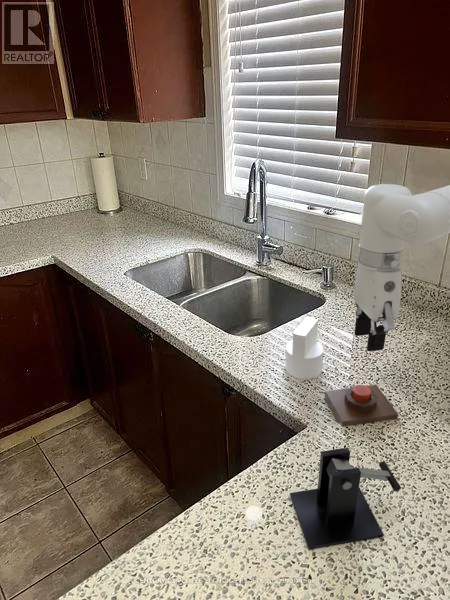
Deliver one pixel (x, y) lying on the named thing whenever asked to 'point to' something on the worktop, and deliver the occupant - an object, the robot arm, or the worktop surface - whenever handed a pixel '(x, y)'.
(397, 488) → the lever
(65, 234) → the worktop surface
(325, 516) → the black lever stand
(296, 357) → the base with upright slab
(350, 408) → the control block
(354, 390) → the button
